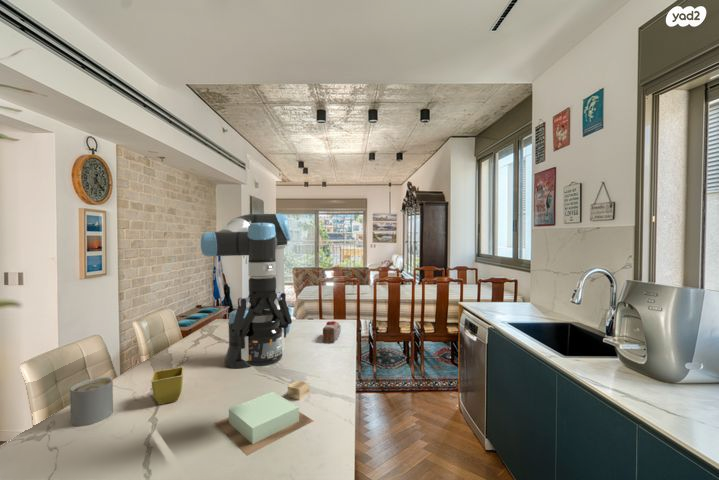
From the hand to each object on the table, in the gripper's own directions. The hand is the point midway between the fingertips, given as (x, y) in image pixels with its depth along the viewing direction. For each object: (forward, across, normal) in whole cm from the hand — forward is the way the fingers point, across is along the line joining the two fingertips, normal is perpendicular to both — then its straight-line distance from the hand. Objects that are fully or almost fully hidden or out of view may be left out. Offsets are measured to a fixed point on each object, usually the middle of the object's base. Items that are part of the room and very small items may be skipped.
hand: (263, 354), depth 92 cm
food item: (+20, +65, +46) cm, 83 cm away
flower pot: (+20, -14, +38) cm, 45 cm away
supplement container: (+2, 0, 0) cm, 2 cm away
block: (+20, +16, +6) cm, 26 cm away
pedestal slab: (+19, 0, 0) cm, 19 cm away
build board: (+20, 0, 0) cm, 20 cm away
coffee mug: (+20, -32, +45) cm, 59 cm away
